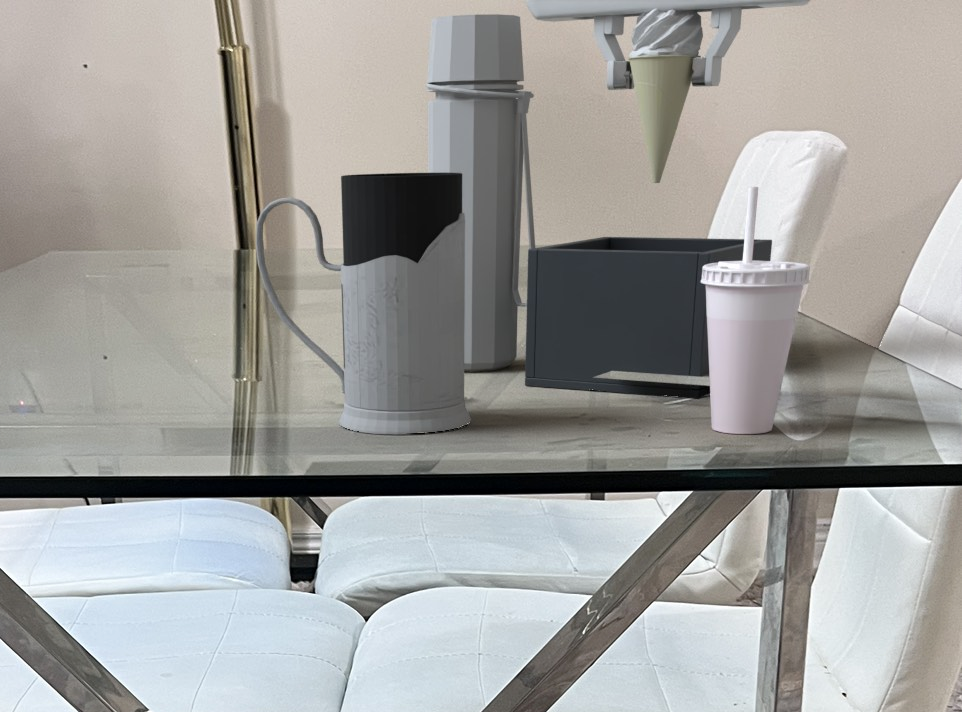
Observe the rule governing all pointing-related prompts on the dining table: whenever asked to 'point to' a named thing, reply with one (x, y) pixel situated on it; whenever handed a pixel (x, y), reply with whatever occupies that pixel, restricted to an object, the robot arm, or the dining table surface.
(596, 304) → the open storage box
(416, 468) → the dining table surface
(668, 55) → the ice cream cone
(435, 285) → the glass holder
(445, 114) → the water bottle
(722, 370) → the smoothie
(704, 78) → the robot arm
